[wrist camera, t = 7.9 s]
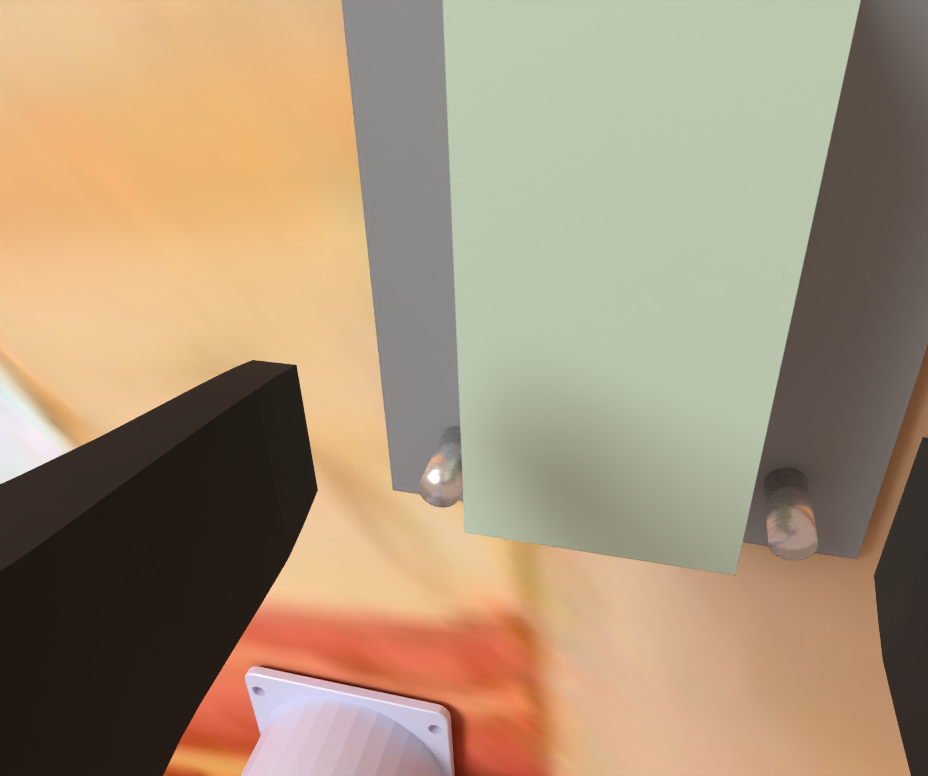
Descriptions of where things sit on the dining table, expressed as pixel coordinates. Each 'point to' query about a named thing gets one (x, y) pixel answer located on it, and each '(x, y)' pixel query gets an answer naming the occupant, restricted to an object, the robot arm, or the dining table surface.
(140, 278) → the dining table surface
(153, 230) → the dining table surface
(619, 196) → the sage green block
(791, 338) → the pin holder
